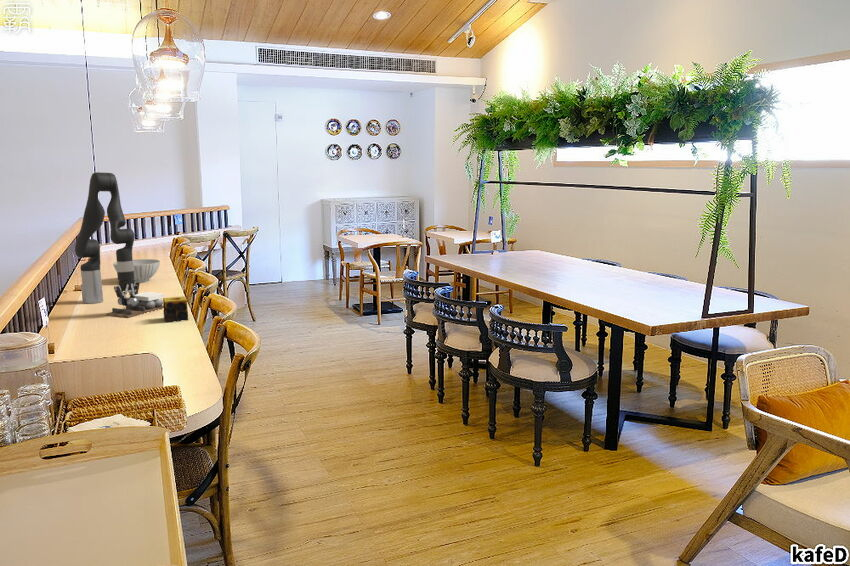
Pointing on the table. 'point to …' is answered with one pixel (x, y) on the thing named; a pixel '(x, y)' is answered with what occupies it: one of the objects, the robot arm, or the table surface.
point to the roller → (130, 302)
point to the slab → (149, 296)
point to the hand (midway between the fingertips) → (128, 304)
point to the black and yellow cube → (175, 309)
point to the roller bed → (137, 309)
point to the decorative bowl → (143, 269)
